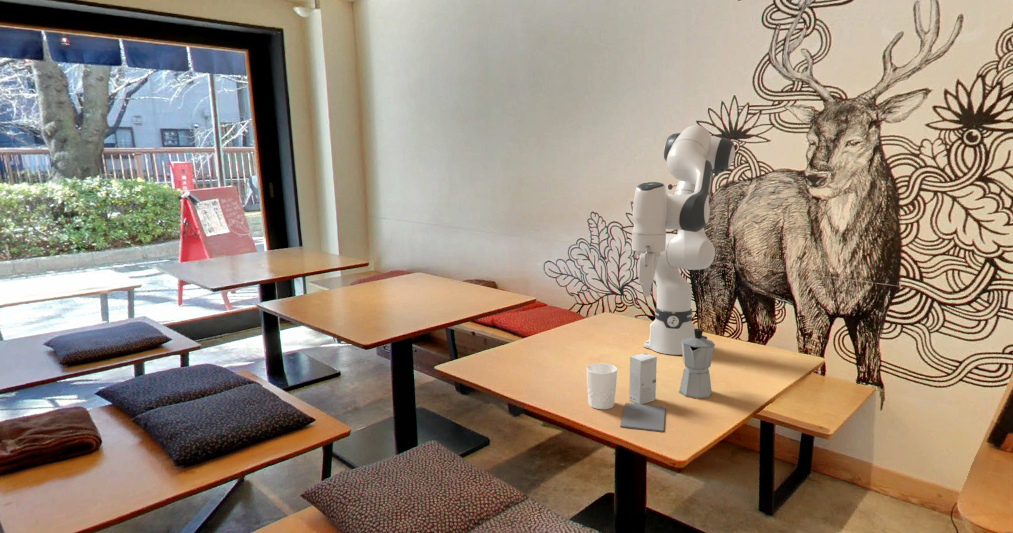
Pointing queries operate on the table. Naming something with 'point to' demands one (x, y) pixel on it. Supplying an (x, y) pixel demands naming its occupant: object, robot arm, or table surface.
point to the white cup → (601, 385)
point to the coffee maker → (696, 366)
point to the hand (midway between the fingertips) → (646, 294)
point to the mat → (643, 417)
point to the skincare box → (642, 378)
